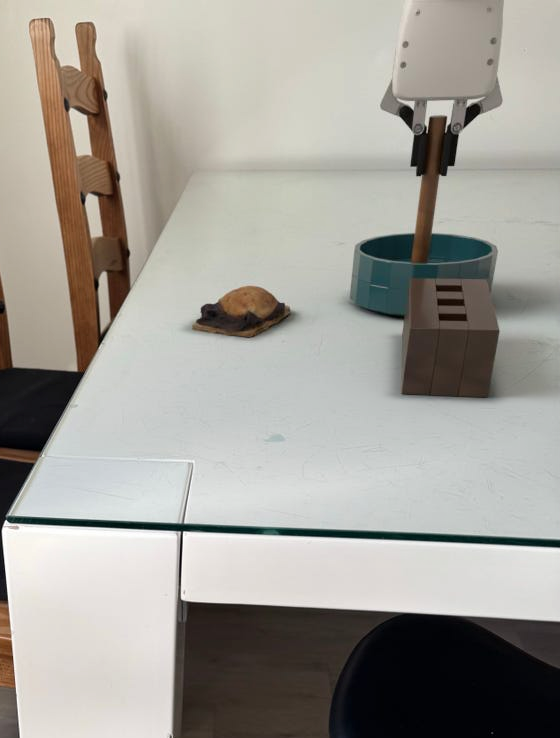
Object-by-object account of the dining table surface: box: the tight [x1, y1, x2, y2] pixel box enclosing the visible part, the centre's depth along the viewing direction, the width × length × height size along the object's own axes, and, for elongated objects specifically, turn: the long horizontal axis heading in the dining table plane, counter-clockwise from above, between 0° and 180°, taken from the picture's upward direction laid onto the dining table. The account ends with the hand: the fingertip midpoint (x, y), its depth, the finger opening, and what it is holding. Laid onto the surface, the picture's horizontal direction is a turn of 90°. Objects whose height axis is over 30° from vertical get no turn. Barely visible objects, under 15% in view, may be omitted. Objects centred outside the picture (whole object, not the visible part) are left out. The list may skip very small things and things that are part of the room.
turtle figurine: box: [191, 285, 292, 338], centre depth 111 cm, size 11×8×4 cm
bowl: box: [349, 232, 499, 318], centre depth 113 cm, size 15×15×6 cm
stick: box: [411, 114, 448, 263], centre depth 109 cm, size 2×2×18 cm
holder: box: [400, 278, 501, 398], centre depth 95 cm, size 7×17×6 cm, turn 165°
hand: (431, 172), depth 107 cm, fingers closed on stick, 1 cm apart
